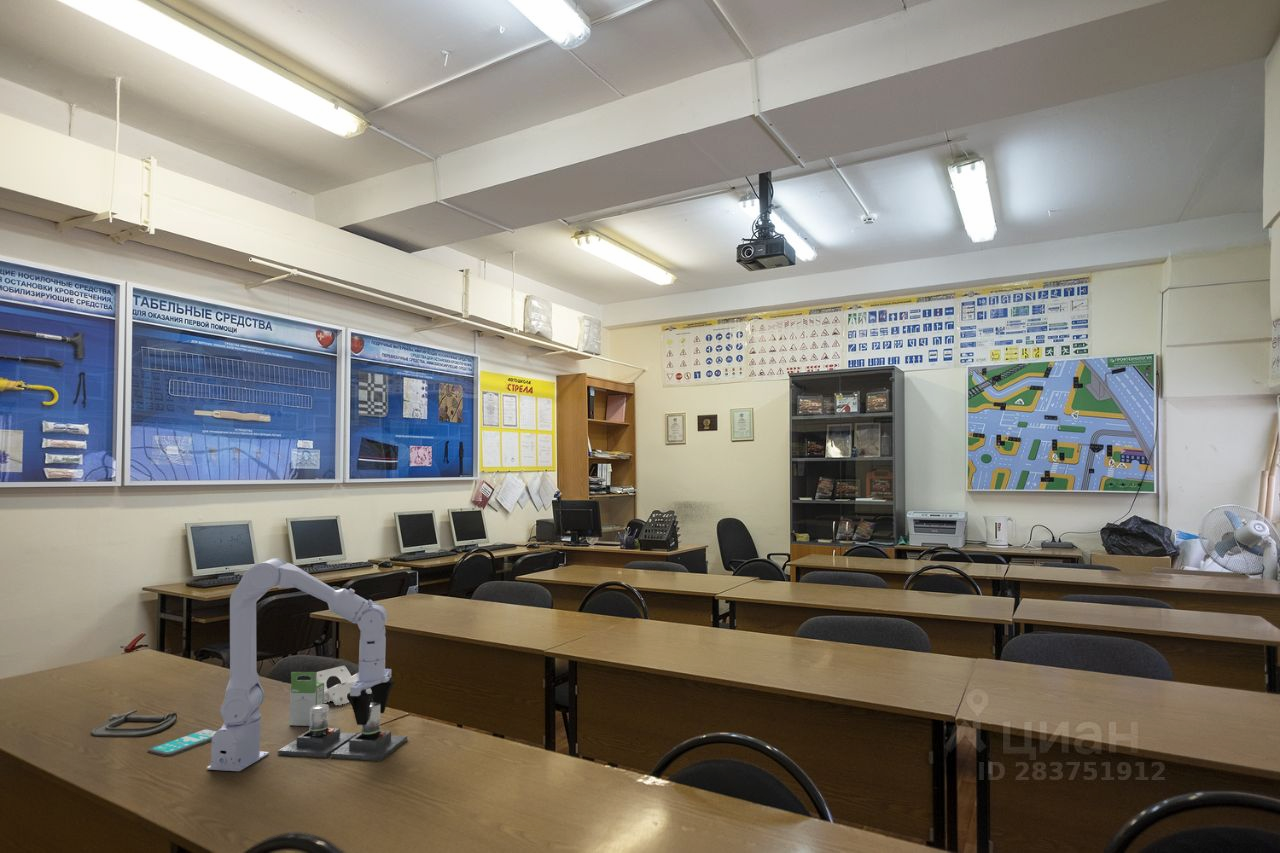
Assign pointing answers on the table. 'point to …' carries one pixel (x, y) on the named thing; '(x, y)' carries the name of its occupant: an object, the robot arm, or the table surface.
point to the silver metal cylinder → (319, 720)
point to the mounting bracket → (338, 691)
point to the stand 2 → (370, 746)
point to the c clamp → (116, 720)
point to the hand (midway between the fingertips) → (370, 718)
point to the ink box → (304, 697)
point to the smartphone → (184, 743)
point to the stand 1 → (317, 744)
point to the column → (372, 720)
